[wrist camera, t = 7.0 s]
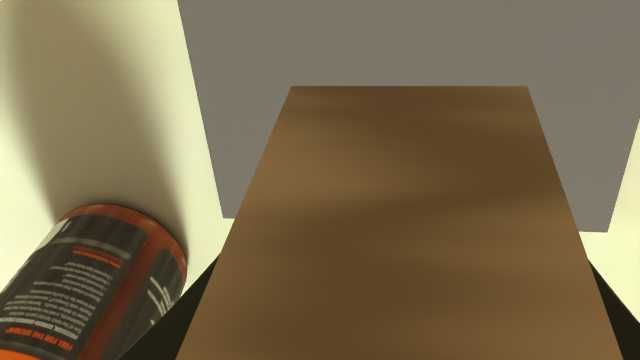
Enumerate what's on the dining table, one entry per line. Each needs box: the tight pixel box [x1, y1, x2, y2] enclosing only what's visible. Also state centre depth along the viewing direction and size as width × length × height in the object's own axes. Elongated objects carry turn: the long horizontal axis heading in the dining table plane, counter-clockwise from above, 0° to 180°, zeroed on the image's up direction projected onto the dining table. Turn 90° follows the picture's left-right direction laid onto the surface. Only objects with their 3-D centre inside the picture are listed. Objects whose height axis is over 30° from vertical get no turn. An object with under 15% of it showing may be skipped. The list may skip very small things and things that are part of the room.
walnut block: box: [176, 86, 623, 360], centre depth 9 cm, size 4×4×7 cm
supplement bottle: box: [0, 204, 187, 360], centre depth 20 cm, size 6×6×11 cm
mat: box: [177, 0, 640, 232], centre depth 18 cm, size 14×12×1 cm
